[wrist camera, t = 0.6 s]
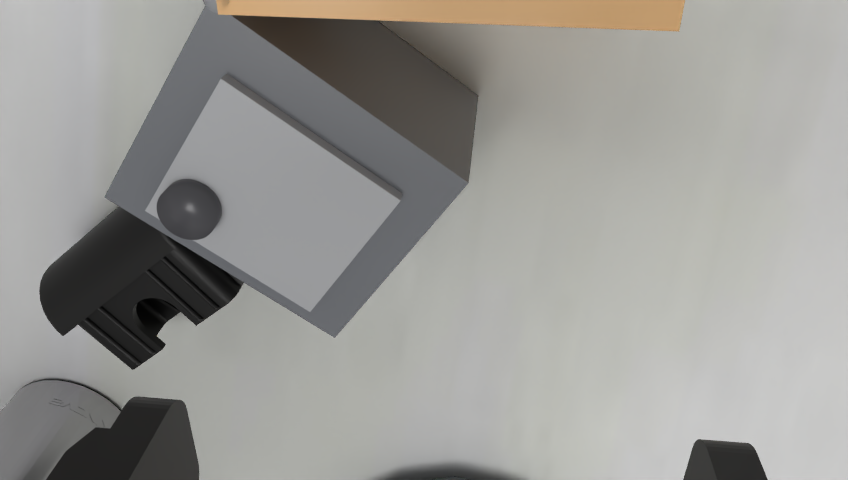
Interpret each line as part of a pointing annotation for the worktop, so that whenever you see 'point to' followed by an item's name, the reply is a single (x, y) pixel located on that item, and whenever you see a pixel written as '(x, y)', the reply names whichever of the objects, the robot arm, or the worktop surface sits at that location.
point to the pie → (451, 478)
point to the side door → (474, 11)
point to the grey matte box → (300, 156)
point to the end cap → (131, 286)
